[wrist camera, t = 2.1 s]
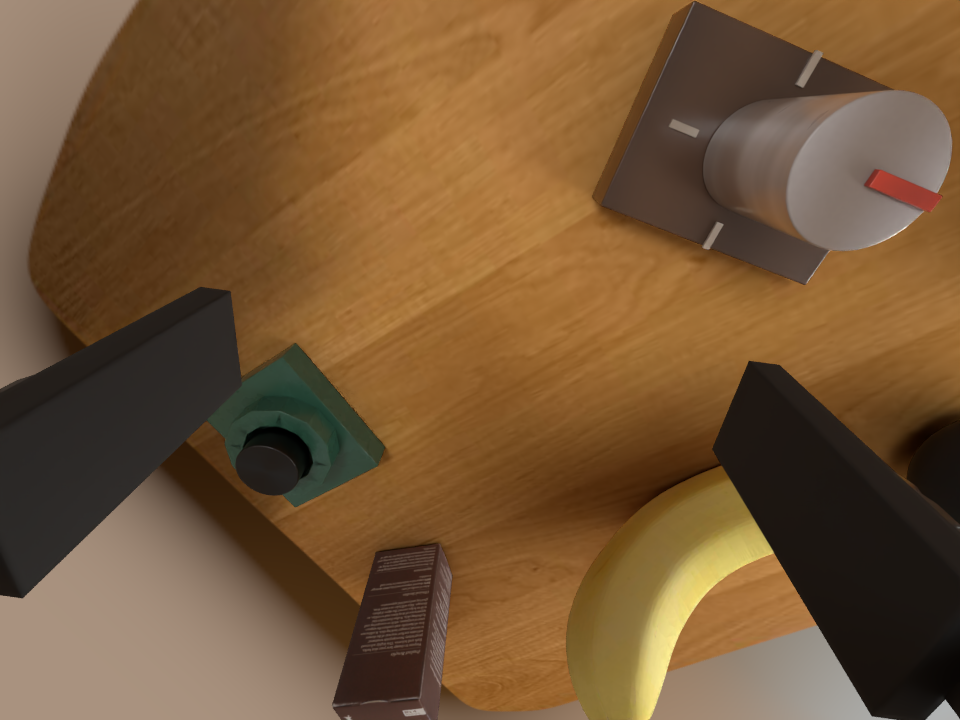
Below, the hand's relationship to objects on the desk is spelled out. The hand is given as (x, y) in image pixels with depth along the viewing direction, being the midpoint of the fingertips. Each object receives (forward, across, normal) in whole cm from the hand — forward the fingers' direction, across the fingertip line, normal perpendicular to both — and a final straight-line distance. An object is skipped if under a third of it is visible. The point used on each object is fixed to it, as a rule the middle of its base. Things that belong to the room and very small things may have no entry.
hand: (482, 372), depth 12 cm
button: (+14, -13, -15) cm, 24 cm away
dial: (+15, +12, +6) cm, 20 cm away
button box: (+18, -13, -16) cm, 27 cm away
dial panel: (+18, +12, +6) cm, 22 cm away
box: (+18, -3, -29) cm, 34 cm away
